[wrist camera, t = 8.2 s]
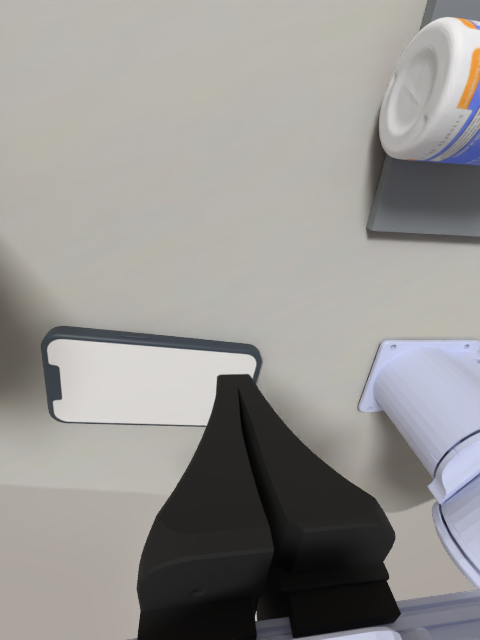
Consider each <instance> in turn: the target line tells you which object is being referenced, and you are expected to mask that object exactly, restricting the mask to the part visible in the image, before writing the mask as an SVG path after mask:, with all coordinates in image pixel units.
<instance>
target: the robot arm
mask: <svg viewBox="0 0 480 640" xmlns="http://www.w3.org/2000/svg"><path fill="white" fill-rule="evenodd" d="M392 345H393V346H392ZM391 346H392V347H391ZM479 349H480V342H479V341H478V340H386V341H384V342H382V343H381V345H380V347H379V350H378V353H377V356H376V359H375V361H374V364H373V367H372V370H371V372H370V375H369V378H368V381H367V384H366V386H365V389H364V392H363V395H362V398H361V400H360V403H359V406H358V408H359V410H360V411H361V412H378V411H385V412H386V414H387V415H388V417H389V418H390V419H391V421H392V422H393V424H394V425H395V426H396V428H397V429H398V431H399V432H400V433H401V435H402V436H403V438H404V439H405V440H406V442H407V443H408V445H409V446H410V447H411V449H412V450H413V452H414V453H415V454H416V456H417V457H418V459H419V460H420V461H421V463H422V464H423V465H424V467H425V468H426V470H427V471H428V472H429V474H430V475H431V477H432V478H433V479H434V480H433V481H432V482H431V483H430V484H429V485H428V488H429V490H430V491H431V493H432V494H433V496H434V497H435V499H436V500H437V502H436V503H434V505H433V507H432V516H433V521H434V523H435V528H436V531H437V534H438V536H439V538H440V541H441V543H442V545H443V547H444V548H445V550H446V552H447V553H448V555H449V556H450V558H451V559H452V561H453V562H454V563H455V565H456V566H457V567H458V569H459V570H460V571H461V572H462V573H463V575H464V576H465V577H466V578H467V579H468V580H469V581H470V582H471V583H472V584H473V585H474V586H475V587H476V588H477V589H478V590H472V591H465V592H458V593H451V594H444V595H437V596H430V597H424V598H417V599H410V600H402V601H395V599H394V597H393V594H392V592H391V590H390V587H389V585H388V583H387V580H388V579H389V574H388V572H387V569H386V567H385V565H384V563H383V561H384V560H385V558H386V556H387V555H388V553H389V551H390V550H391V548H392V546H393V543H394V541H395V532H394V530H393V528H392V526H391V524H390V522H389V520H388V518H387V517H386V515H385V513H384V511H383V510H382V508H381V507H380V505H379V504H378V502H377V500H376V499H375V498H374V497H373V496H371V495H370V494H368V493H366V492H365V491H363V490H362V489H360V488H359V487H357V486H356V485H354V484H353V483H351V482H350V481H348V480H347V479H345V478H344V477H343V476H341V475H340V474H339V473H337V472H336V471H335V470H333V469H332V468H331V467H329V466H328V465H327V464H326V463H325V462H323V461H322V460H321V459H320V458H319V457H318V456H316V455H315V454H314V453H313V452H312V451H311V450H310V449H309V448H307V447H306V446H305V445H304V444H303V443H302V442H301V441H300V440H299V439H298V438H297V437H296V436H295V435H294V434H293V432H292V431H291V430H290V429H289V428H288V427H287V426H286V425H285V423H284V422H283V421H282V420H281V419H280V418H279V416H278V415H277V414H276V413H275V411H274V410H273V409H272V407H271V406H270V405H269V403H268V402H267V401H266V399H265V398H264V396H263V395H262V393H261V392H260V390H259V389H258V387H257V386H256V384H255V382H254V381H253V379H252V377H251V376H250V375H249V374H222V375H219V376H217V384H216V397H215V401H214V405H213V408H212V412H211V415H210V418H209V421H208V424H207V427H206V429H205V432H204V434H203V437H202V439H201V441H200V443H199V446H198V448H197V450H196V452H195V454H194V456H193V458H192V460H191V462H190V464H189V466H188V467H187V469H186V471H185V473H184V474H183V476H182V478H181V479H180V481H179V483H178V484H177V486H176V488H175V489H174V491H173V492H172V494H171V495H170V497H169V498H168V500H167V501H166V503H165V504H164V506H163V507H162V508H161V510H160V511H159V513H158V514H157V516H156V518H155V521H154V523H153V525H152V528H151V530H150V533H149V535H148V538H147V540H146V543H145V546H144V549H143V552H142V555H141V560H140V564H139V572H138V581H137V593H138V599H139V604H140V610H141V613H140V621H139V629H138V638H135V639H128V640H480V353H478V351H479ZM256 611H257V621H255V614H256Z"/></svg>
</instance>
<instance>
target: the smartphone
mask: <svg viewBox="0 0 480 640" xmlns="http://www.w3.org/2000/svg"><path fill="white" fill-rule="evenodd" d="M41 351H42V359H43V368H44V376H45V384H46V393H47V401H48V409H49V413H50V415H51V416H52V418H54V419H55V420H57V421H59V422H63V423H81V424H119V425H158V426H196V427H207V424H208V421H209V418H210V415H211V412H212V408H213V405H214V401H215V397H216V384H217V376H219V375H222V374H249V375H250V376H251V377H252V379H253V381H254V382H255V383H256V380H257V377H258V373H259V370H260V366H261V362H262V360H261V356H260V353H259V351H258V349H257V348H256V347H255V346H253V345H250V344H243V343H233V342H223V341H213V340H204V339H194V338H184V337H174V336H164V335H154V334H144V333H133V332H123V331H113V330H102V329H91V328H80V327H69V326H59V327H55V328H53V329H51V330H50V331H49V332H48V333H47V335H46V336H45V337H44V339H43V340H42V343H41Z"/></svg>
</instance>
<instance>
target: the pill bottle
mask: <svg viewBox="0 0 480 640" xmlns="http://www.w3.org/2000/svg"><path fill="white" fill-rule="evenodd" d="M379 135H380V140H381V144H382V147H383V148H384V150H385V152H386V153H387V154H388V155H389V156H391V157H393V158H396V159H403V160H413V161H427V162H439V163H452V164H465V165H477V166H480V22H479V21H473V20H468V19H462V18H453V17H444V18H439V19H437V20H435V21H433V22H431V23H429V24H428V25H426V26H425V27H424V28H422V29H421V30H420V31H419V32H418V34H417V35H416V36H415V37H414V38H413V39H412V41H411V42H410V43H409V45H408V46H407V48H406V49H405V51H404V52H403V54H402V56H401V57H400V59H399V61H398V63H397V65H396V67H395V69H394V71H393V73H392V75H391V78H390V80H389V83H388V86H387V89H386V91H385V95H384V98H383V102H382V106H381V111H380V117H379Z"/></svg>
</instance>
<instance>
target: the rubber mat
mask: <svg viewBox="0 0 480 640" xmlns="http://www.w3.org/2000/svg"><path fill="white" fill-rule="evenodd" d="M444 17H453V18H462V19H468V20H473V21H479V22H480V0H428V2H427V6H426V10H425V13H424V17H423V21H422V24H421V28H420V30H421V29H422V28H424V27H425V26H426V25H428V24H429V23H431V22H433V21H435V20H437V19H439V18H444ZM366 228H367V229H369V230H371V231H385V232H403V233H421V234H440V235H458V236H477V237H480V166H477V165H465V164H452V163H439V162H427V161H413V160H403V159H396V158H393V157H391V156H389V155H388V154H387V153H386V157H385V160H384V164H383V168H382V171H381V175H380V179H379V182H378V186H377V190H376V193H375V197H374V201H373V204H372V208H371V212H370V215H369V219H368V223H367V226H366Z"/></svg>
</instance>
